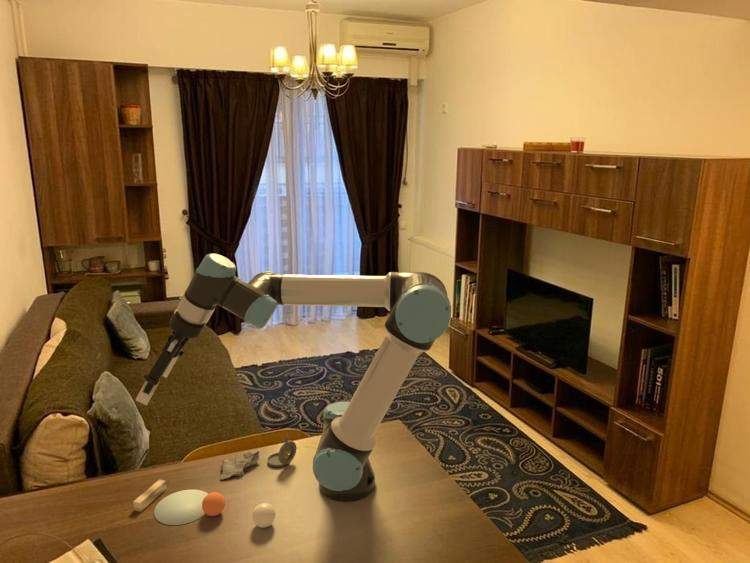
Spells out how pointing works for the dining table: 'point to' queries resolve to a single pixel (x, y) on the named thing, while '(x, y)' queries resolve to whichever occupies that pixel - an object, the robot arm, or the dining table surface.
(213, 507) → the object ball
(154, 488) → the birch rail
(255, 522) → the cue ball
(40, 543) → the dining table surface
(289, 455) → the pocket watch
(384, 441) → the dining table surface
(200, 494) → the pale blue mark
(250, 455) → the mineral specimen
